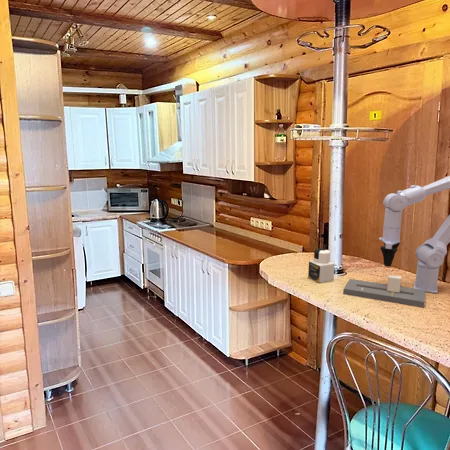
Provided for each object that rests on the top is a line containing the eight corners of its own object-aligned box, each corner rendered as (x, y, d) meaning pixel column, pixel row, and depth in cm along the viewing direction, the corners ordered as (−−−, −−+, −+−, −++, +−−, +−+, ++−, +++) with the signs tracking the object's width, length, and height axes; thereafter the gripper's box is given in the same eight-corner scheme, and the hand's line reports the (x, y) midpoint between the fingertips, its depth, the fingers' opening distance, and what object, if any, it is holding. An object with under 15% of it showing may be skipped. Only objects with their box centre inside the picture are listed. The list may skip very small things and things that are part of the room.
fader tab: (387, 288, 147) (389, 274, 146) (400, 289, 145) (401, 276, 144) (387, 290, 144) (388, 277, 143) (399, 292, 142) (400, 278, 141)
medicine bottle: (307, 277, 164) (309, 248, 161) (322, 275, 167) (324, 246, 164) (318, 283, 157) (320, 253, 155) (333, 280, 160) (335, 251, 158)
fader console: (349, 283, 157) (349, 278, 157) (424, 295, 146) (425, 289, 145) (343, 294, 147) (343, 288, 146) (424, 307, 135) (424, 301, 135)
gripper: (382, 222, 157) (379, 257, 159) (377, 229, 144) (374, 267, 147) (402, 224, 153) (399, 259, 156) (399, 232, 141) (395, 270, 144)
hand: (388, 263), depth 151 cm, fingers open, 7 cm apart
